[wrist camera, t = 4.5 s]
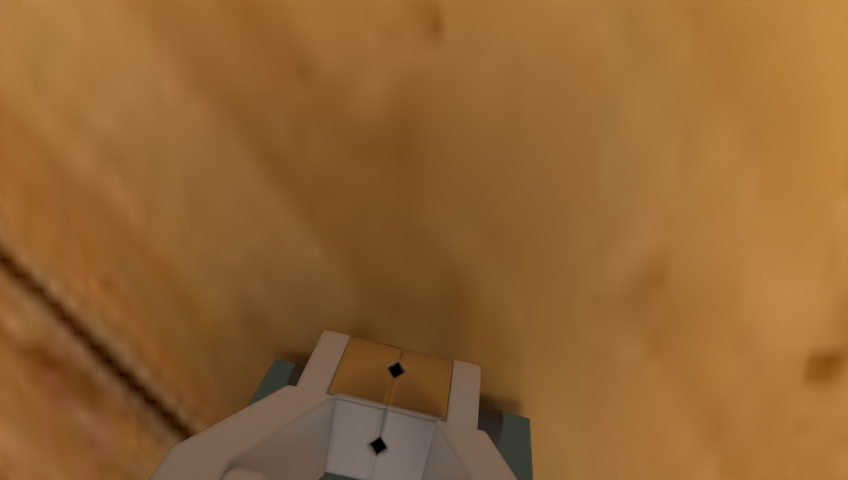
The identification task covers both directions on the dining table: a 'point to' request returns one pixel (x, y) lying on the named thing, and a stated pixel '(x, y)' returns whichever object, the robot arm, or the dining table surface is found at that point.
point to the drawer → (499, 426)
